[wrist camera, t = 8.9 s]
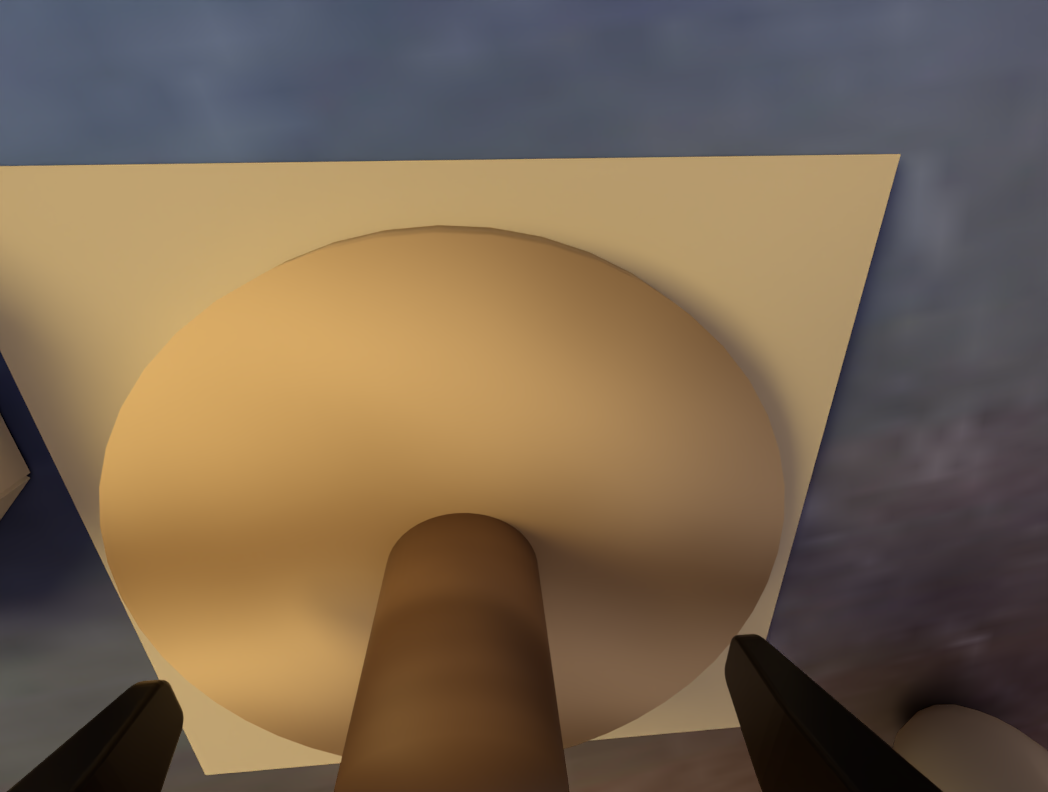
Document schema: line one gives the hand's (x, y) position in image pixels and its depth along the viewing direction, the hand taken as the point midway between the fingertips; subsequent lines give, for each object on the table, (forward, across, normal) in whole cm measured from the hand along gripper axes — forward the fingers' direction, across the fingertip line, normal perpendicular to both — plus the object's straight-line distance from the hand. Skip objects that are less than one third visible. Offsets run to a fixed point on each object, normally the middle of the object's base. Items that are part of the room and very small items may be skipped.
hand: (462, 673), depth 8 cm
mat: (+4, 0, 0) cm, 4 cm away
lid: (+3, 0, 0) cm, 3 cm away
